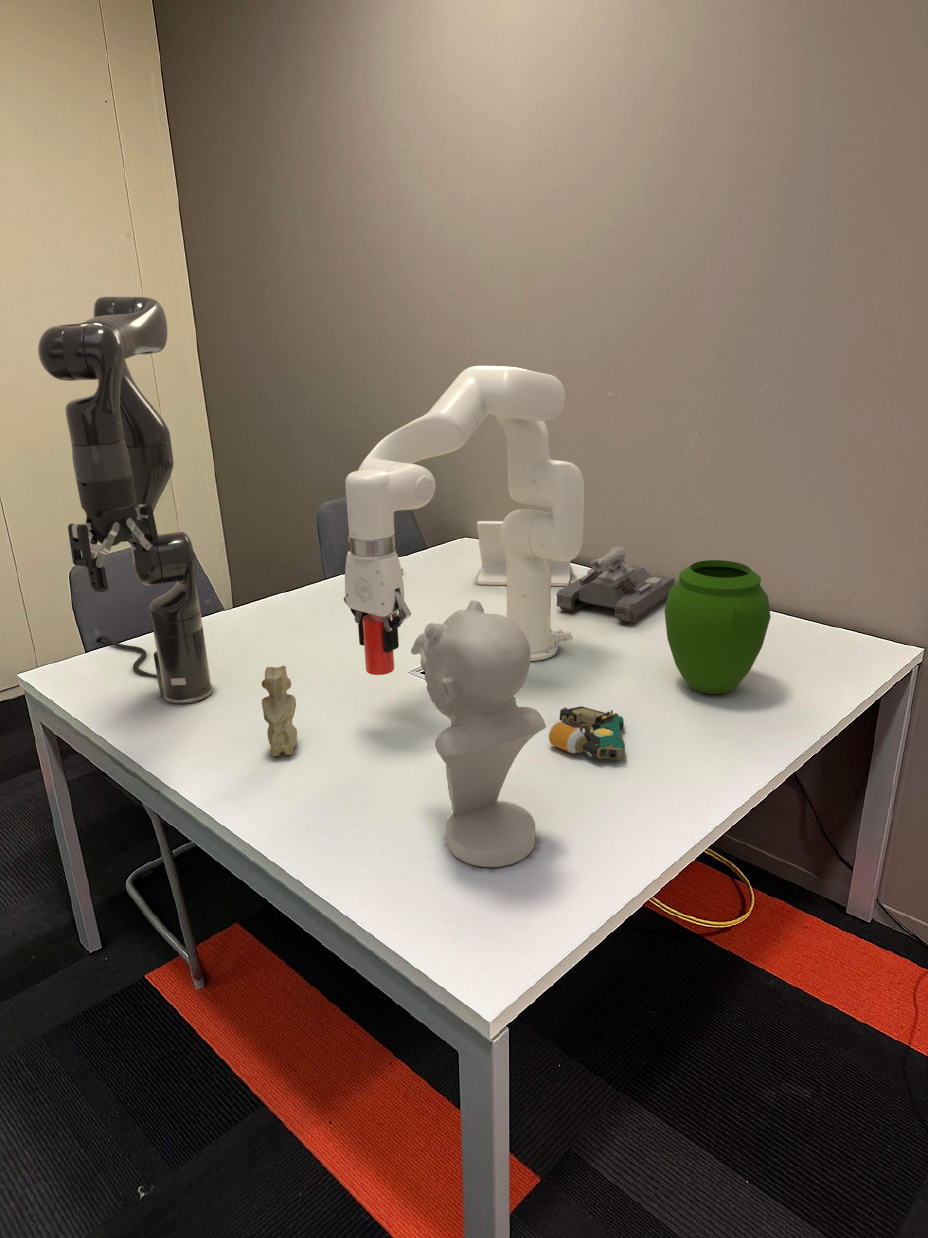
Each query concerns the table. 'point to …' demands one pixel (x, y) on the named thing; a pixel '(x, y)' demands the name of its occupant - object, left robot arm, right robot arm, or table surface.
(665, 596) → the toy
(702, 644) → the vase
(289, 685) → the sculpture
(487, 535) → the tablet stand
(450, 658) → the bust sculpture
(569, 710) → the spray gun
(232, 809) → the table surface
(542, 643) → the right robot arm
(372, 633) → the canister
